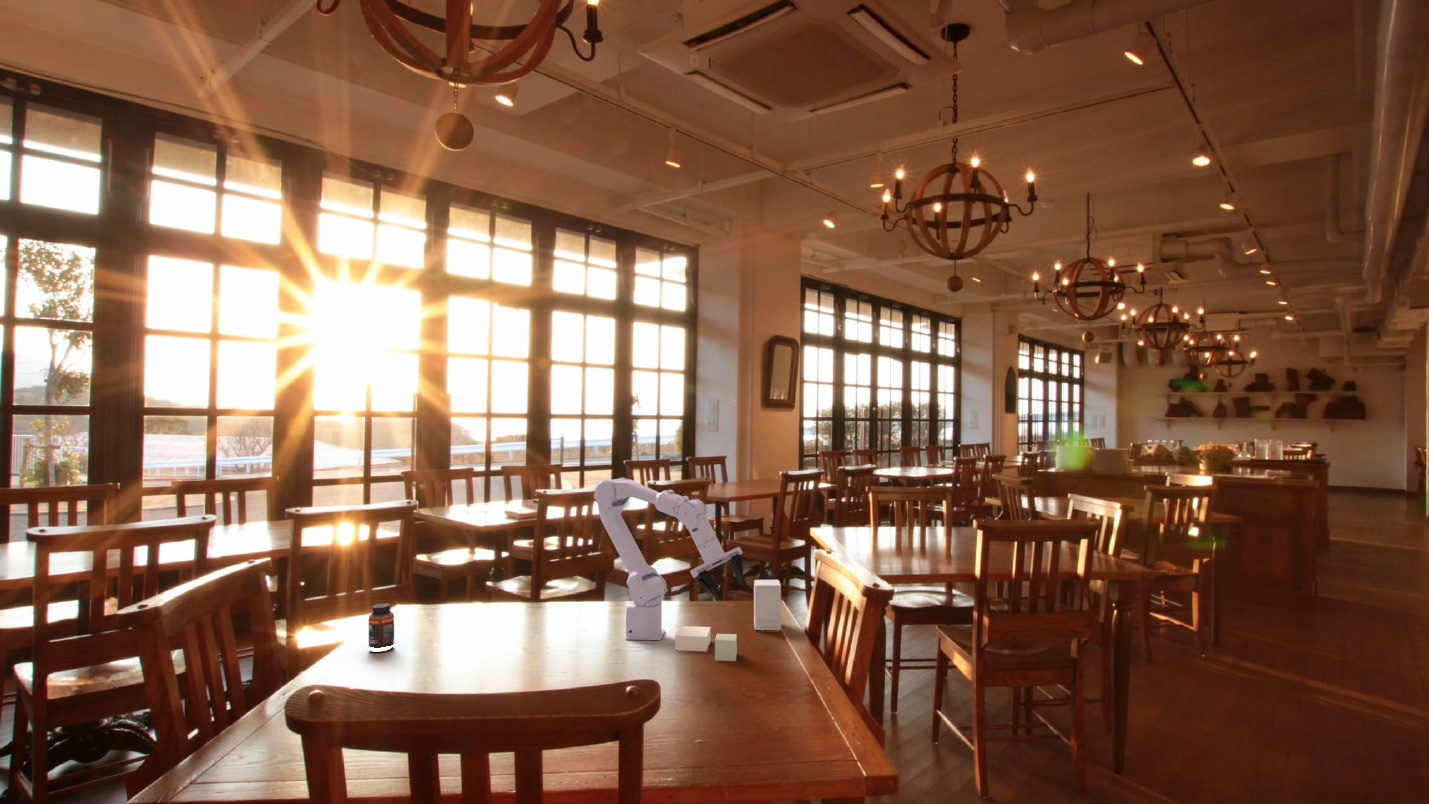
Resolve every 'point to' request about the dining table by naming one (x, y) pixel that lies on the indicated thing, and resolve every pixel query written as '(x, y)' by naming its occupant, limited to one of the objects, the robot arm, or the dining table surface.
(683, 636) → the cream block
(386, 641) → the supplement bottle
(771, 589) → the supplement box
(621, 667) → the dining table surface
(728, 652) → the sage block
